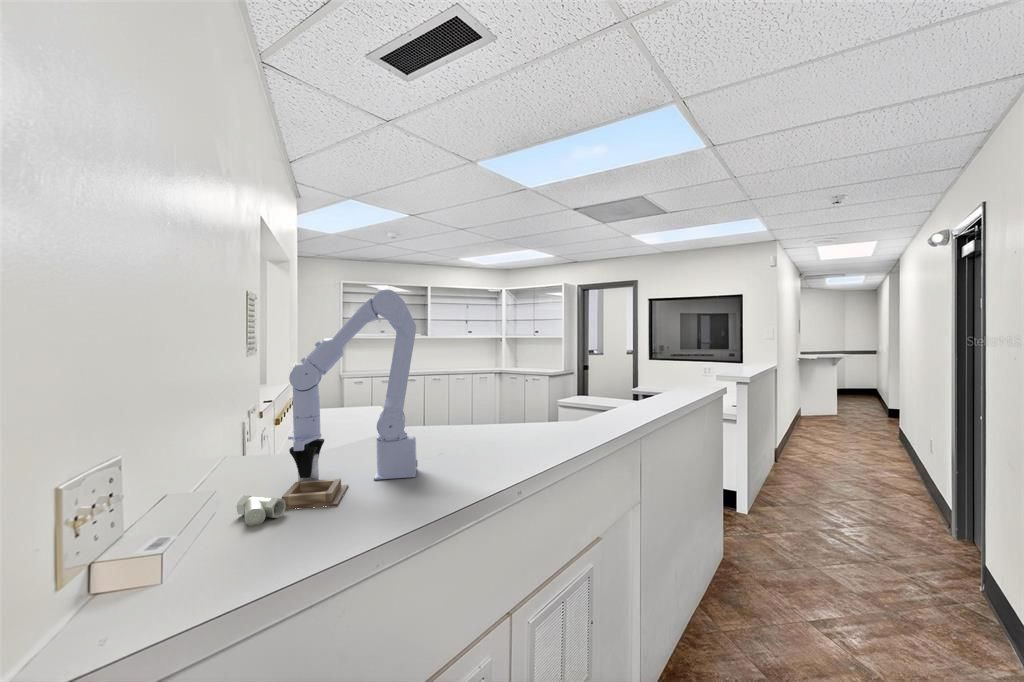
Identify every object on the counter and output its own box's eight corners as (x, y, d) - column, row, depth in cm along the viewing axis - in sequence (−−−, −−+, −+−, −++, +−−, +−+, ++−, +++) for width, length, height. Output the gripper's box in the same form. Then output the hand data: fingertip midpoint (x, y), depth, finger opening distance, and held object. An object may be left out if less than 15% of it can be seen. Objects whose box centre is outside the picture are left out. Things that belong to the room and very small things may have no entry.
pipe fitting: (259, 531, 83) (286, 514, 90) (257, 510, 83) (284, 494, 89) (222, 527, 85) (252, 510, 92) (220, 507, 85) (250, 491, 91)
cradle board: (348, 488, 105) (348, 476, 105) (337, 508, 93) (337, 494, 93) (291, 493, 103) (290, 480, 103) (272, 514, 91) (272, 499, 91)
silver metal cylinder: (320, 477, 112) (320, 452, 112) (316, 483, 107) (315, 457, 107) (301, 478, 111) (300, 453, 111) (295, 484, 107) (295, 458, 107)
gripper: (297, 411, 115) (299, 466, 116) (277, 422, 101) (279, 485, 101) (327, 410, 117) (329, 464, 117) (312, 421, 102) (314, 483, 103)
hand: (308, 474), depth 109 cm, fingers closed on silver metal cylinder, 4 cm apart
